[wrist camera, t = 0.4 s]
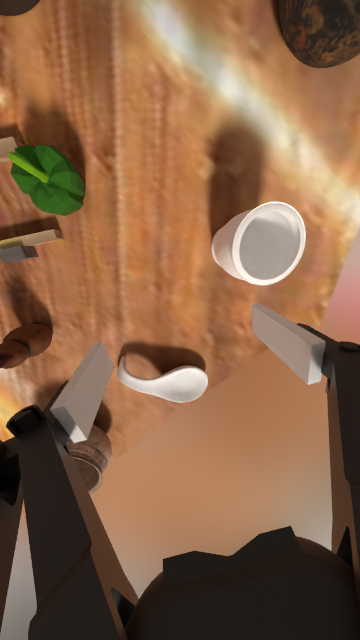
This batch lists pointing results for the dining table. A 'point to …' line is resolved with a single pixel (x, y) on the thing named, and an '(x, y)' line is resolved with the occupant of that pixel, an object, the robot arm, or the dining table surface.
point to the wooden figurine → (24, 344)
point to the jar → (261, 243)
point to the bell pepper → (48, 178)
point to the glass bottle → (321, 30)
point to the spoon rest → (168, 382)
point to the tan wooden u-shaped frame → (24, 245)
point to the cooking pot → (92, 457)
